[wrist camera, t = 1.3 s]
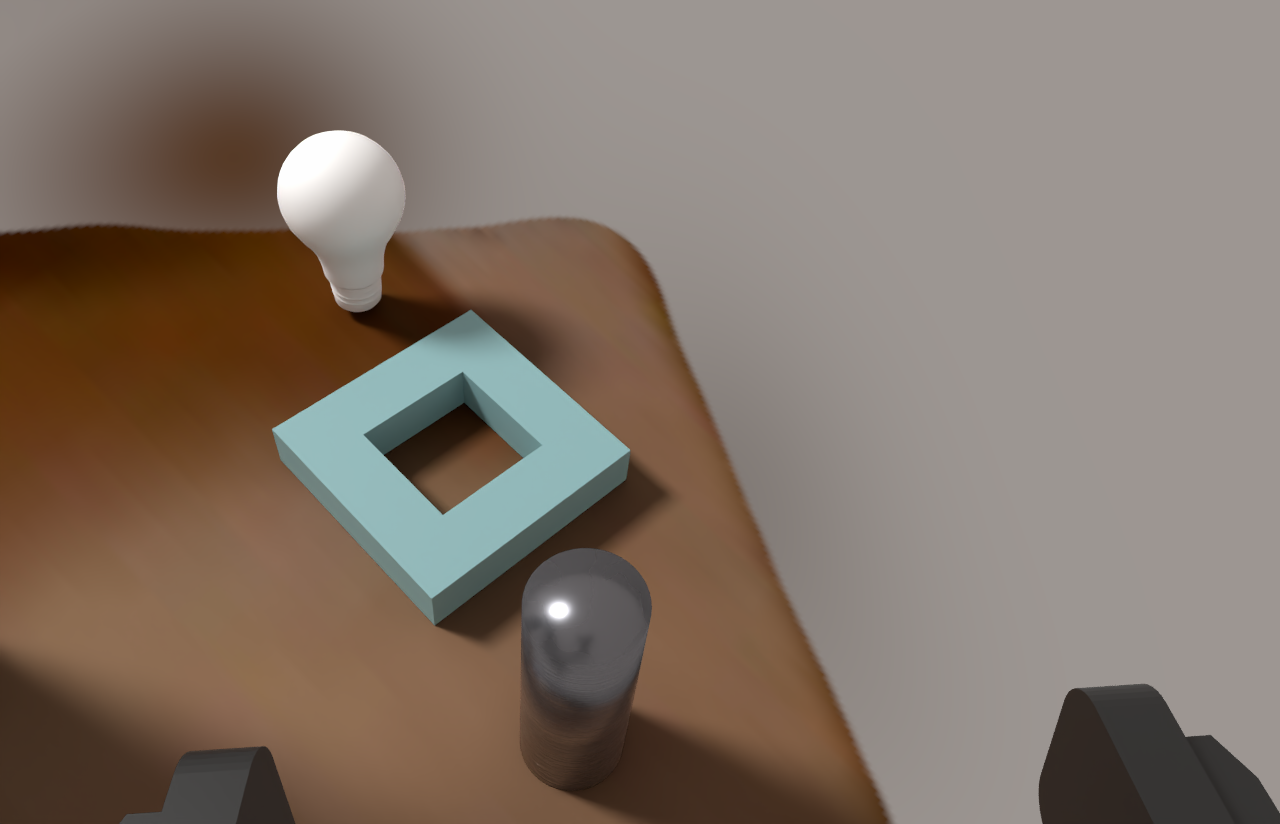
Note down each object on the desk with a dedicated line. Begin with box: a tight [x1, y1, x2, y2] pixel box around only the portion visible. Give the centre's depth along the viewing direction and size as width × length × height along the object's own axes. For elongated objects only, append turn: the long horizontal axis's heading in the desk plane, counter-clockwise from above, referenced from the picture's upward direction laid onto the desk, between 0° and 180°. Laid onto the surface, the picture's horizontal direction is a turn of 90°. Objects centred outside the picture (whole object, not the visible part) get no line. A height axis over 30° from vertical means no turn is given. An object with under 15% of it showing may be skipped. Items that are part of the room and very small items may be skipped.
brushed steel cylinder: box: [520, 548, 652, 791], centre depth 42 cm, size 4×4×12 cm
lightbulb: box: [277, 131, 406, 312], centre depth 56 cm, size 6×6×11 cm
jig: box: [272, 310, 630, 625], centre depth 54 cm, size 12×12×2 cm
